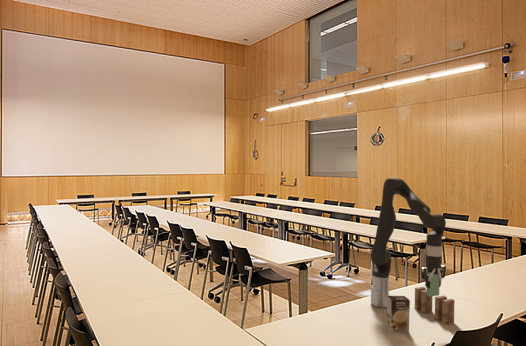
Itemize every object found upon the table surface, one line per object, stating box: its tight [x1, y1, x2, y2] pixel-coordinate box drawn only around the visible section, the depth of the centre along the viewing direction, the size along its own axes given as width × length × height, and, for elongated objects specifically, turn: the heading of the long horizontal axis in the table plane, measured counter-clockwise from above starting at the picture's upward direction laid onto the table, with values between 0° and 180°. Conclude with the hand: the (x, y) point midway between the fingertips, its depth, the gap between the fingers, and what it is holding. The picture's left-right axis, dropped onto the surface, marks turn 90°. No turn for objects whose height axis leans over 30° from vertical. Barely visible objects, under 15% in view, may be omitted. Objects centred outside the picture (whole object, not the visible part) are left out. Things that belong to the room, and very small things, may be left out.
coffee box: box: [386, 295, 411, 333], centre depth 184 cm, size 9×6×16 cm
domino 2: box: [420, 289, 433, 314], centre depth 206 cm, size 6×2×12 cm, turn 109°
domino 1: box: [414, 286, 427, 311], centre depth 211 cm, size 6×2×12 cm, turn 109°
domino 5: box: [441, 298, 455, 325], centre depth 192 cm, size 6×2×12 cm, turn 109°
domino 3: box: [426, 272, 440, 297], centre depth 186 cm, size 6×2×12 cm, turn 109°
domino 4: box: [434, 295, 448, 321], centre depth 197 cm, size 6×2×12 cm, turn 109°
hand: (433, 287), depth 186 cm, fingers closed on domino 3, 6 cm apart
